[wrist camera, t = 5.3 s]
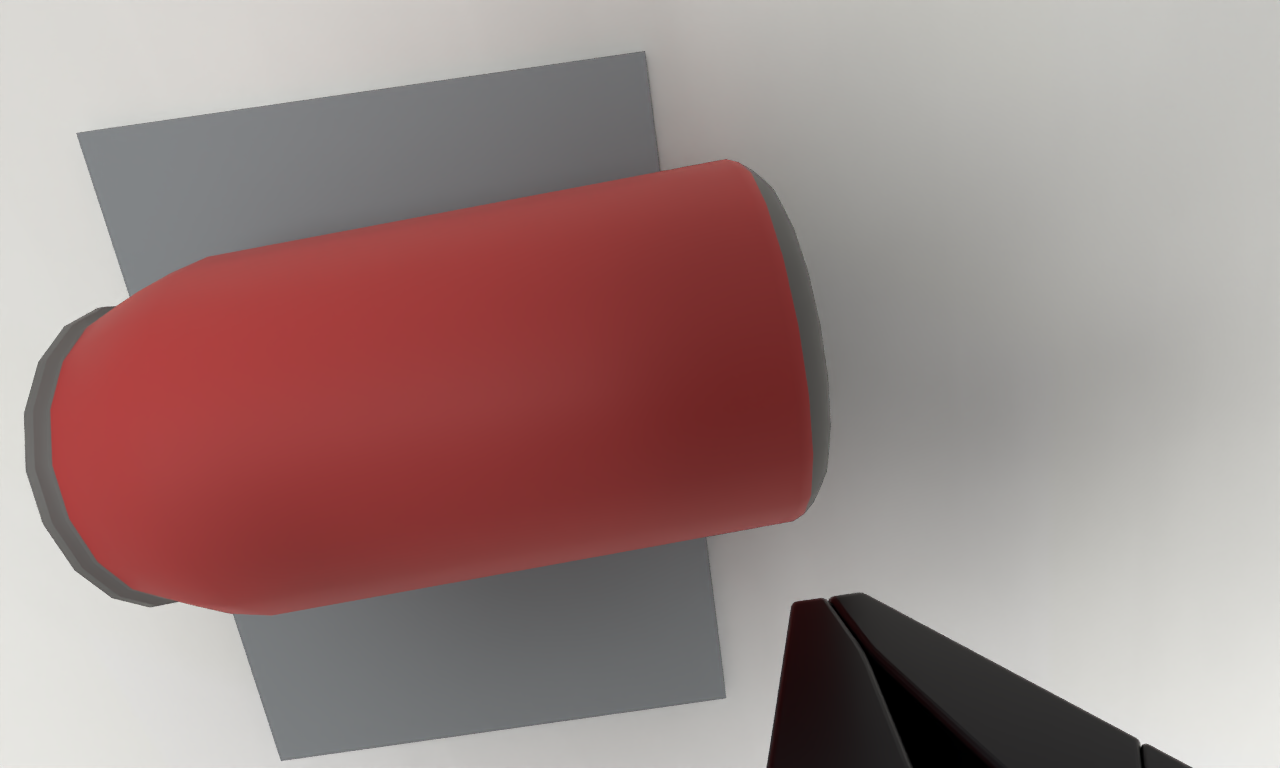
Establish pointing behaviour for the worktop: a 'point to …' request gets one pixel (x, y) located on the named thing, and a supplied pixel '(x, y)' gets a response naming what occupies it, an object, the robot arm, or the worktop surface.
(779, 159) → the worktop surface
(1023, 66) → the worktop surface
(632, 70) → the mat
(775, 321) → the beer can
